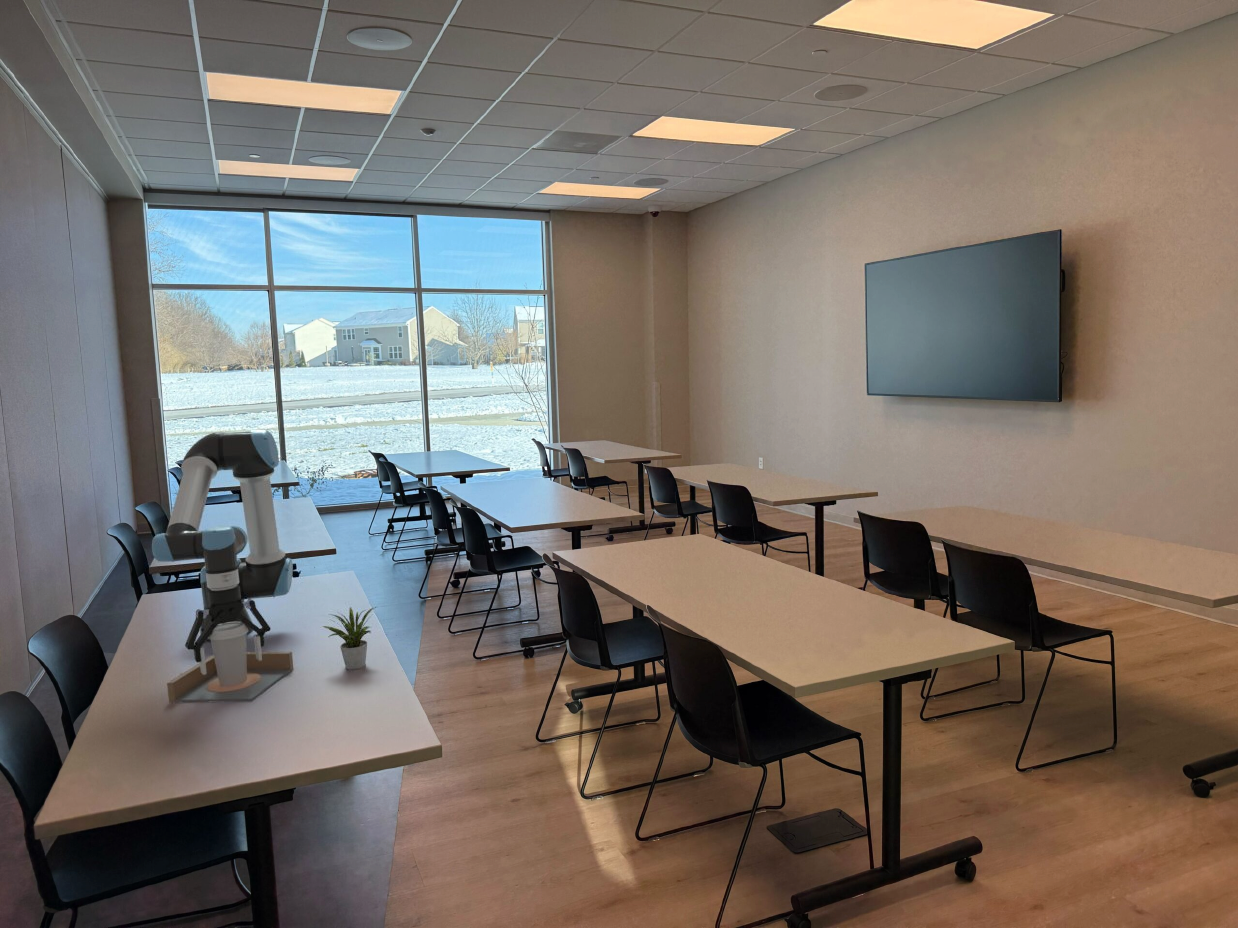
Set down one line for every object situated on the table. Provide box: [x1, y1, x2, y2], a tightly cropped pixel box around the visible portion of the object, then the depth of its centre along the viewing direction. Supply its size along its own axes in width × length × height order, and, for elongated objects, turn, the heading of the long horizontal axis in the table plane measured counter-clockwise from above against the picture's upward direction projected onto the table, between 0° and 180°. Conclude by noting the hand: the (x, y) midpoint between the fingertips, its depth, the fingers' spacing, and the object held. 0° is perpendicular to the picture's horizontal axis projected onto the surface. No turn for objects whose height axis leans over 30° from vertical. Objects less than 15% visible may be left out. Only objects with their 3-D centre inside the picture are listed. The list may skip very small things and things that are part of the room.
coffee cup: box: [208, 622, 248, 686], centre depth 212 cm, size 10×10×15 cm
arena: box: [166, 651, 294, 703], centre depth 213 cm, size 22×22×5 cm
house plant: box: [322, 606, 377, 670], centre depth 223 cm, size 14×14×16 cm
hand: (231, 666), depth 213 cm, fingers open, 13 cm apart
